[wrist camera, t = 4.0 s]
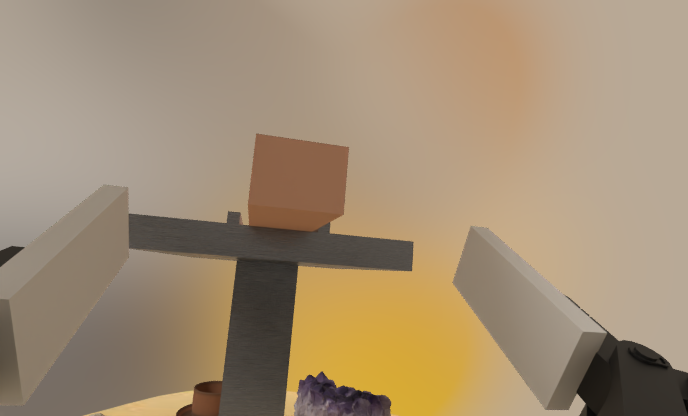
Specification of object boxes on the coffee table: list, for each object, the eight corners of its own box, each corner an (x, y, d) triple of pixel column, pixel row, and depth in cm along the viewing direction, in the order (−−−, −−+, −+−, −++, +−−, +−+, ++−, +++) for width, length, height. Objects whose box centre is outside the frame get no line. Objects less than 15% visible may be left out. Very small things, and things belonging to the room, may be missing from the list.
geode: (268, 429, 69) (278, 368, 72) (311, 422, 77) (318, 368, 80) (367, 465, 57) (374, 390, 60) (404, 452, 65) (409, 387, 68)
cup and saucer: (208, 407, 77) (212, 374, 78) (260, 420, 72) (264, 385, 73) (158, 427, 66) (164, 388, 67) (216, 445, 61) (221, 402, 62)
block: (343, 214, 17) (348, 147, 17) (248, 204, 16) (256, 133, 17) (279, 249, 56) (281, 228, 56) (250, 247, 55) (252, 225, 55)
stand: (387, 773, 22) (414, 227, 27) (21, 847, 18) (130, 196, 23) (312, 495, 49) (333, 246, 54) (157, 502, 45) (194, 233, 50)
